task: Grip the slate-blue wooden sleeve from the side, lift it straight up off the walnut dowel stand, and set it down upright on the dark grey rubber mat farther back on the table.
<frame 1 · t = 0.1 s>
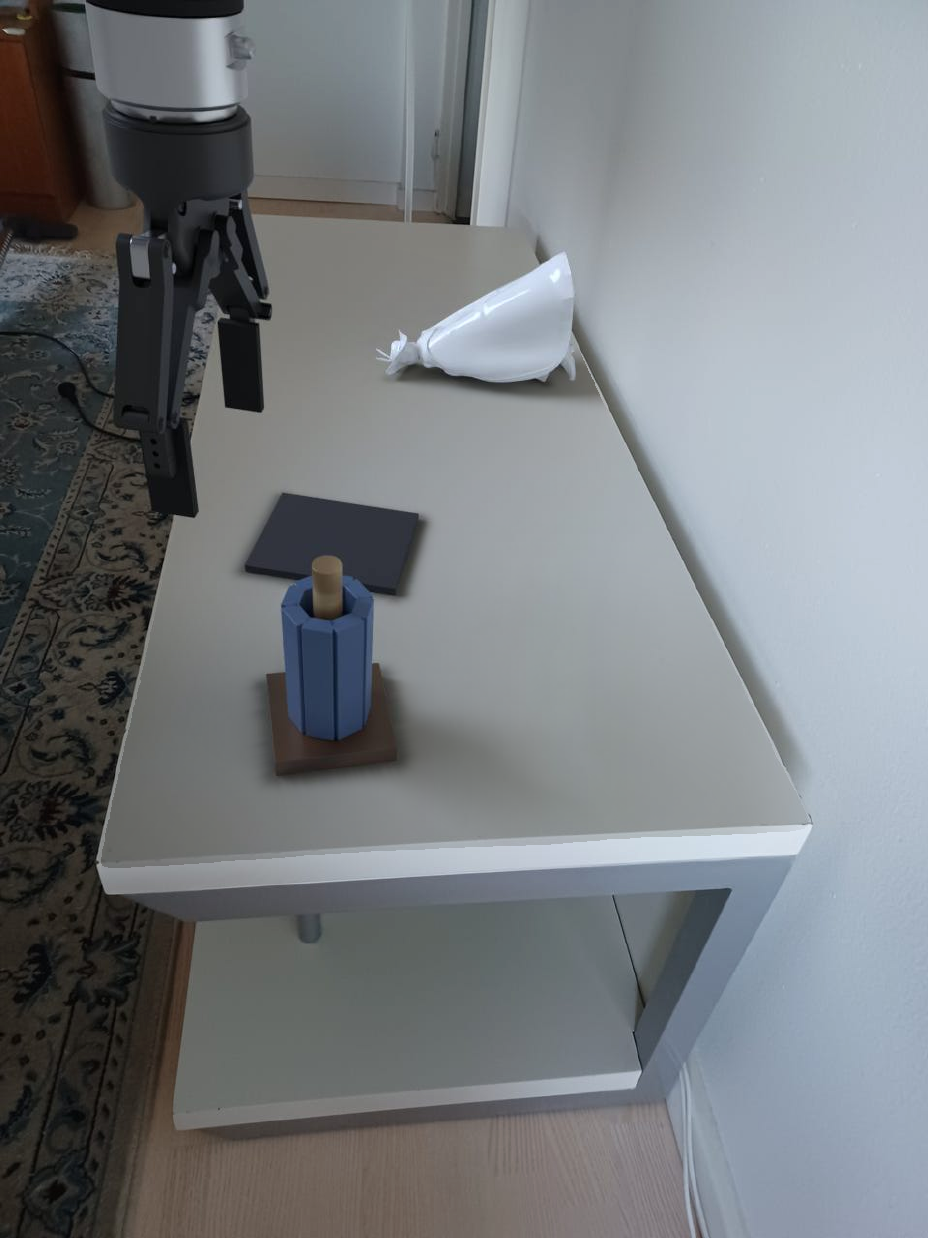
hand: (213, 455, 61), 20 cm above the table, tool pointing down, fingers open, 13 cm apart
dowel stand: (330, 722, 70), on the table
mat: (335, 544, 87), on the table
knotted white bag: (472, 370, 116), on the table
sleeve: (329, 709, 69), point 1 cm above the table, touching dowel stand
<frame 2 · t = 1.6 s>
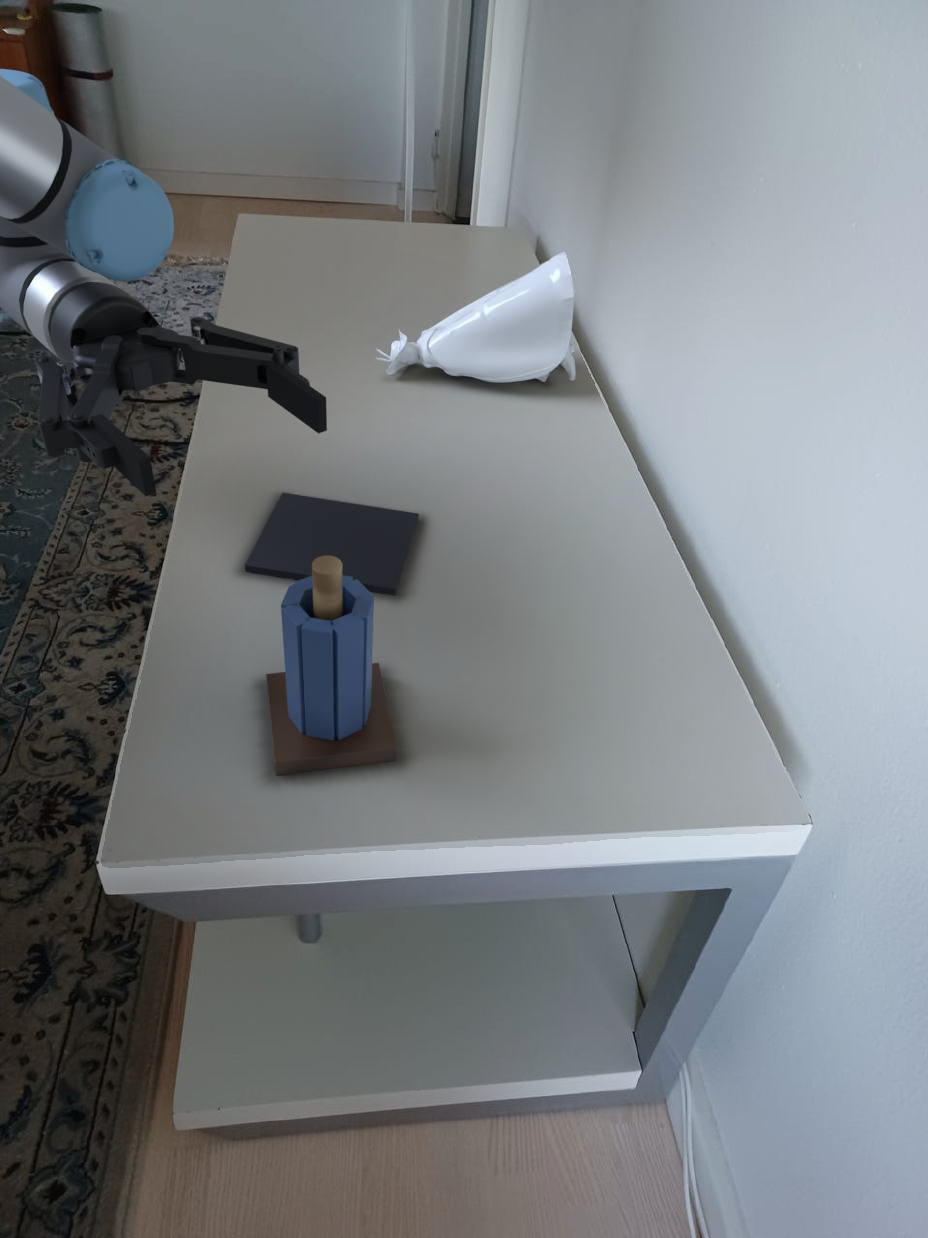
hand: (240, 444, 61), 20 cm above the table, tool horizontal, fingers open, 13 cm apart
nothing on the table moved.
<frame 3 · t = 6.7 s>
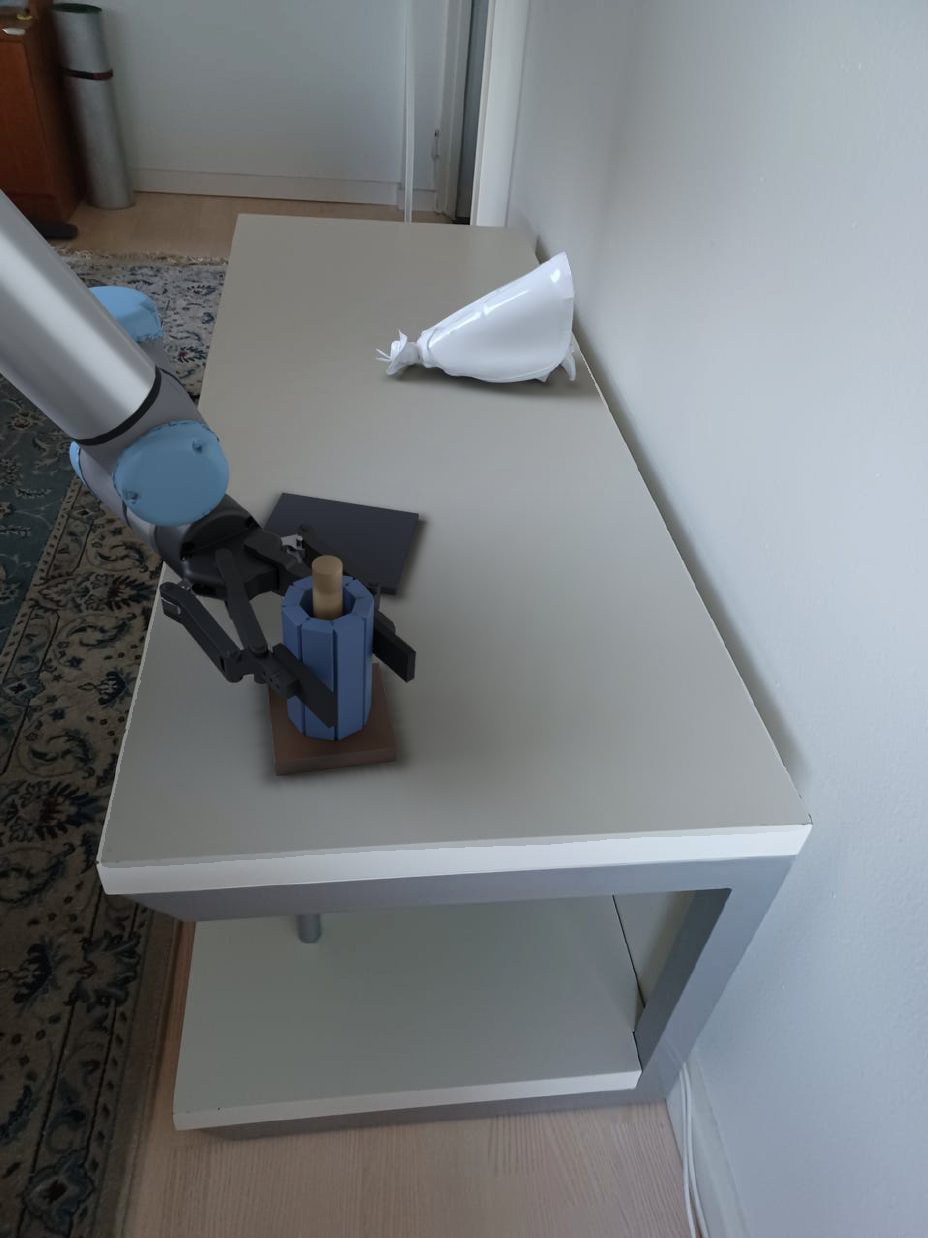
hand: (373, 689, 62), 8 cm above the table, tool horizontal, fingers closed on sleeve, 6 cm apart
sleeve: (329, 709, 69), point 2 cm above the table, touching dowel stand, gripper
everything else where it was.
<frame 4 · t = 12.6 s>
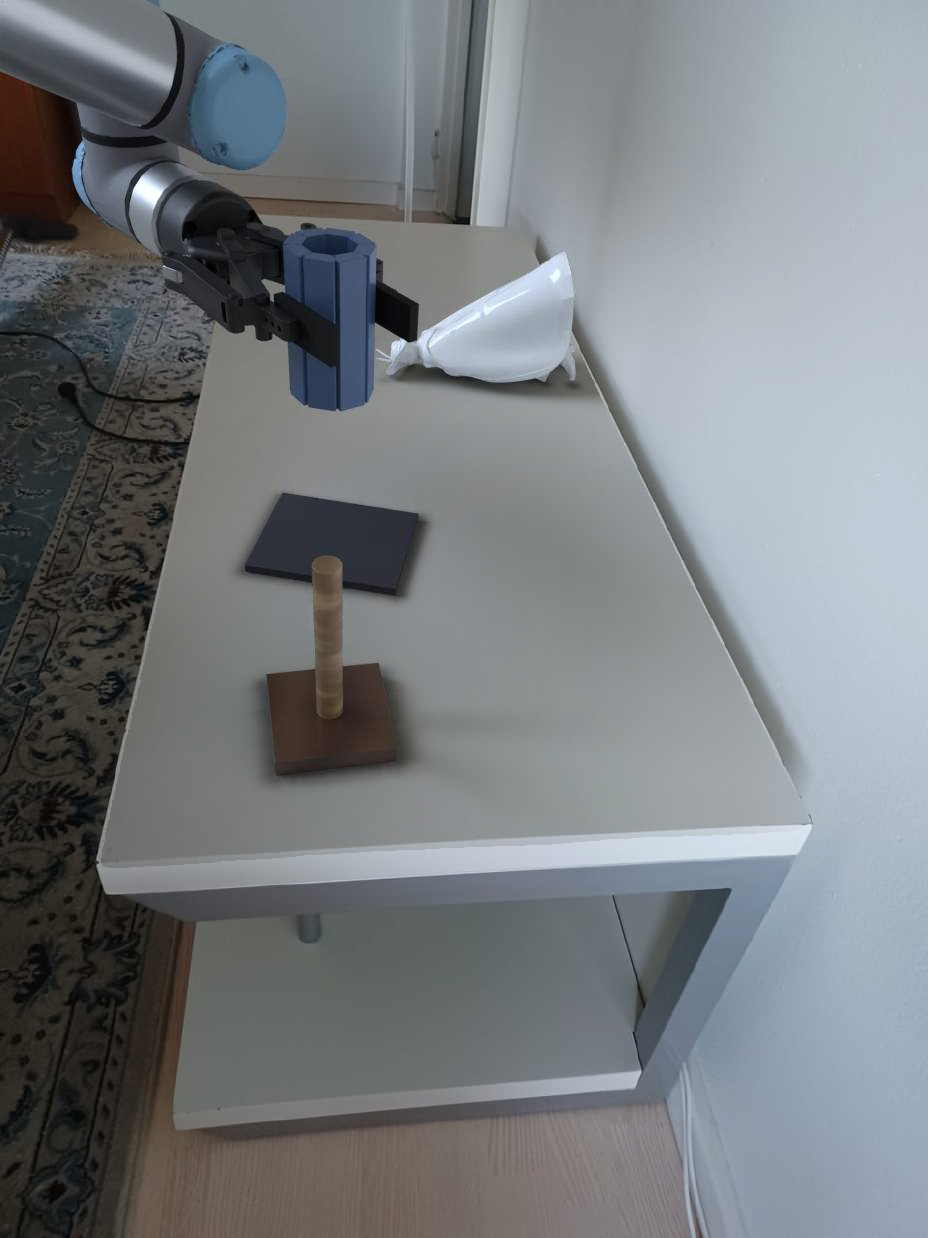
hand: (375, 334, 62), 26 cm above the table, tool horizontal, fingers closed on sleeve, 6 cm apart
sleeve: (332, 390, 69), point 20 cm above the table, touching gripper
everything else where it was.
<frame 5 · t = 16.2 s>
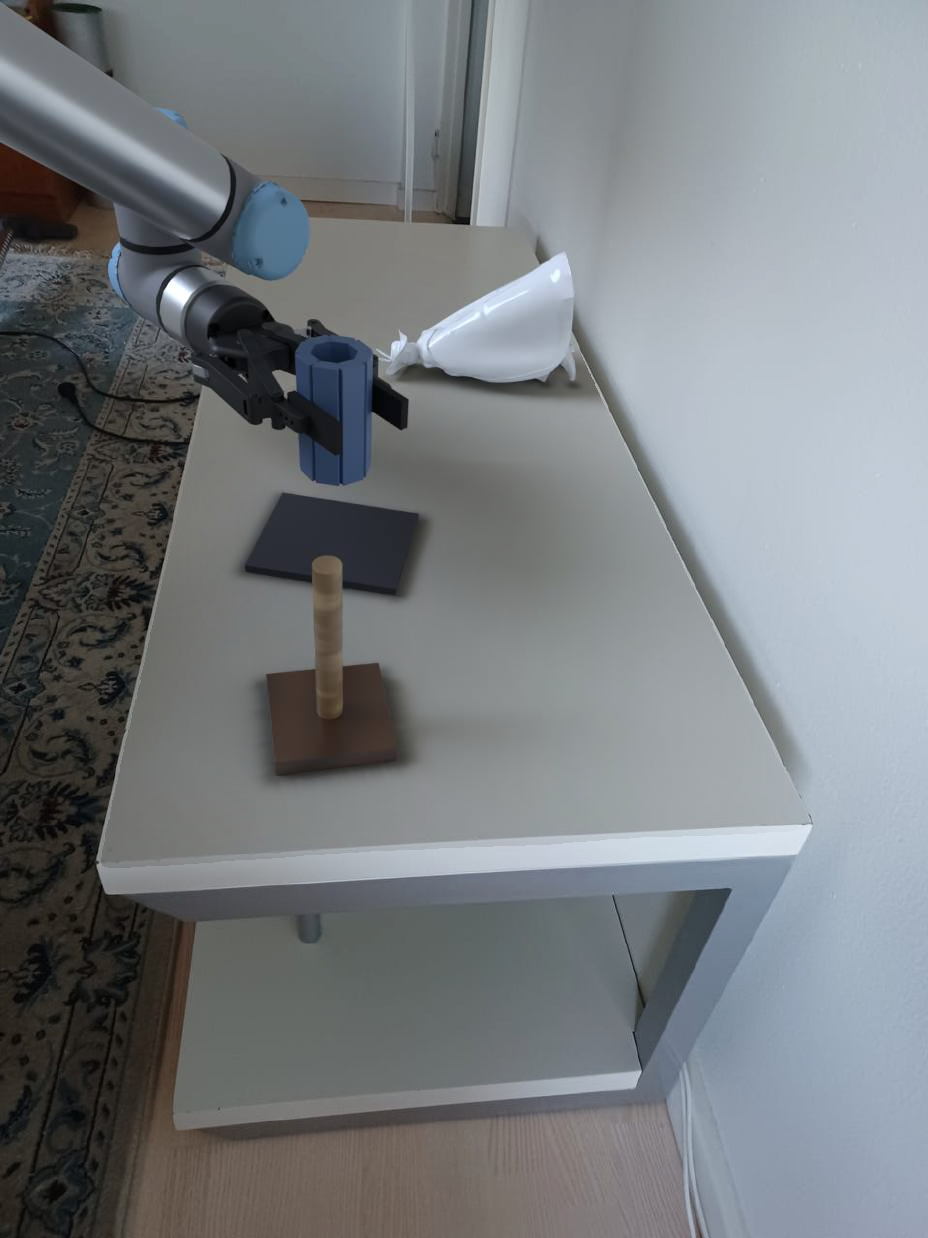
hand: (372, 426, 74), 15 cm above the table, tool horizontal, fingers closed on sleeve, 6 cm apart
sleeve: (335, 466, 81), point 9 cm above the table, touching gripper
everything else where it was.
when the fingers open (7 cm above the table, at t = 18.7 s): sleeve stays where it is, resting on mat.
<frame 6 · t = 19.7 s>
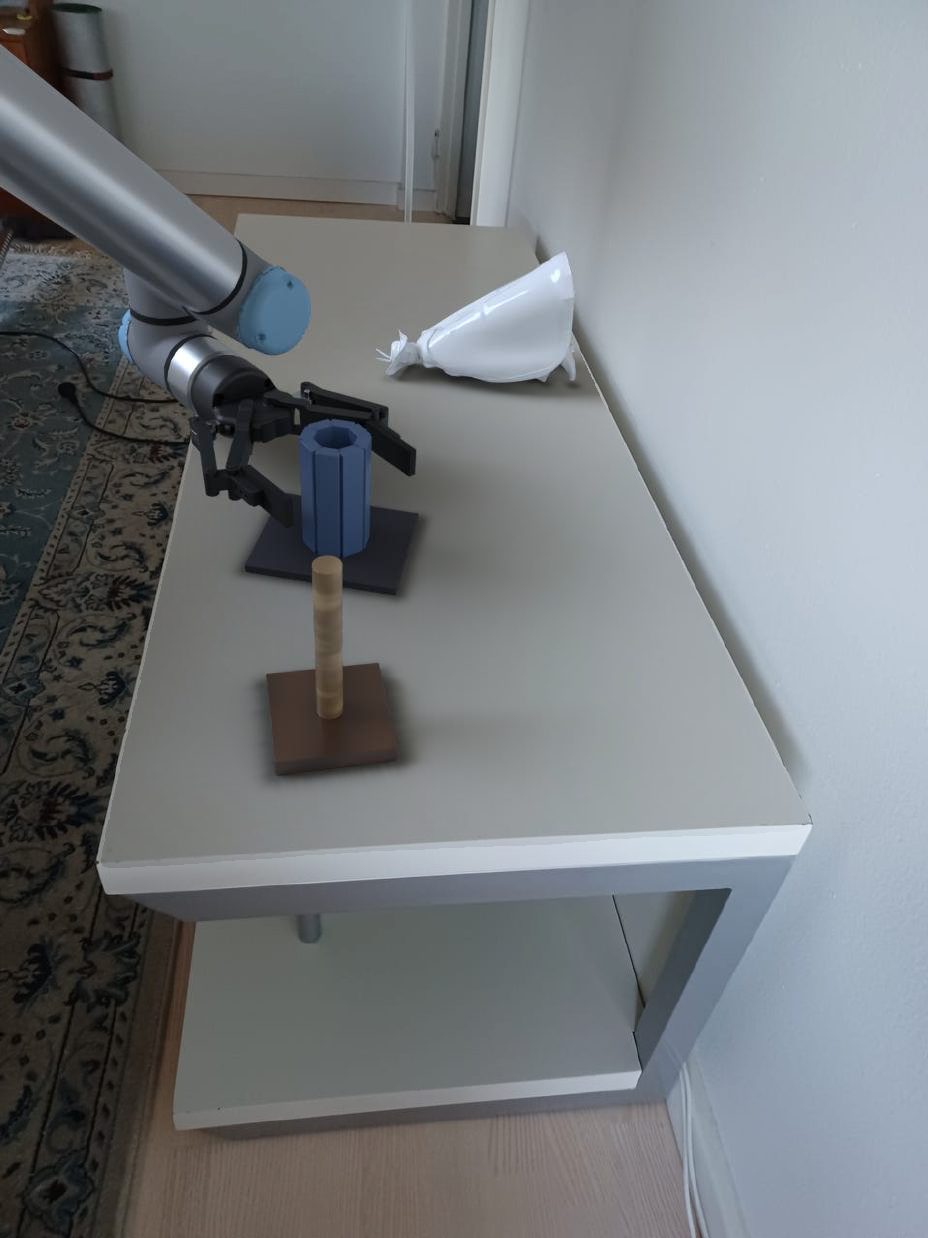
hand: (354, 487, 80), 8 cm above the table, tool horizontal, fingers open, 13 cm apart
sleeve: (336, 537, 86), point 1 cm above the table, touching mat
everything else where it was.
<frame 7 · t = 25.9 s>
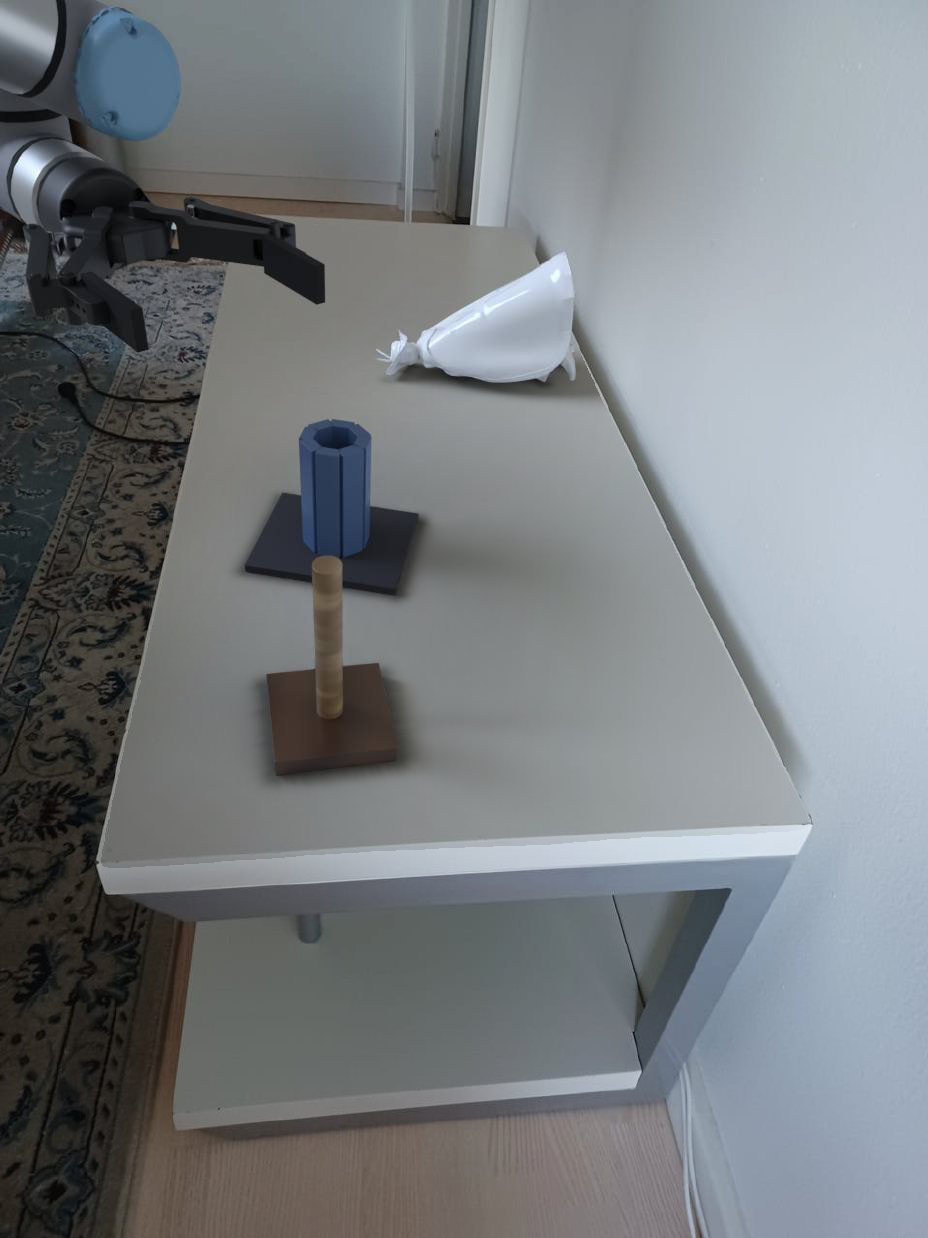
hand: (236, 306, 59), 28 cm above the table, tool horizontal, fingers open, 13 cm apart
nothing on the table moved.
at the end: sleeve inside the target area on the mat (0.0 cm from its centre), point 0.8 cm above the mat's base; sleeve tilted 0°; sleeve touching mat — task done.
